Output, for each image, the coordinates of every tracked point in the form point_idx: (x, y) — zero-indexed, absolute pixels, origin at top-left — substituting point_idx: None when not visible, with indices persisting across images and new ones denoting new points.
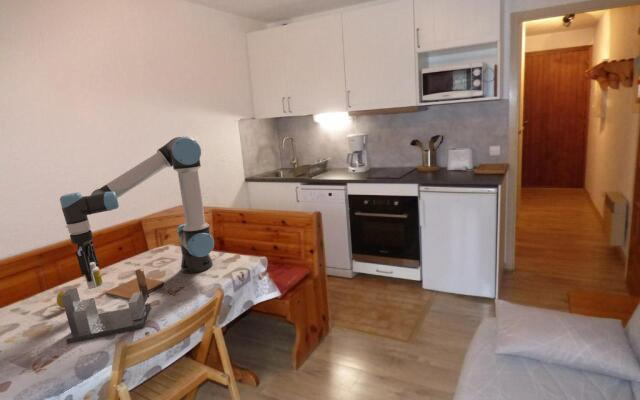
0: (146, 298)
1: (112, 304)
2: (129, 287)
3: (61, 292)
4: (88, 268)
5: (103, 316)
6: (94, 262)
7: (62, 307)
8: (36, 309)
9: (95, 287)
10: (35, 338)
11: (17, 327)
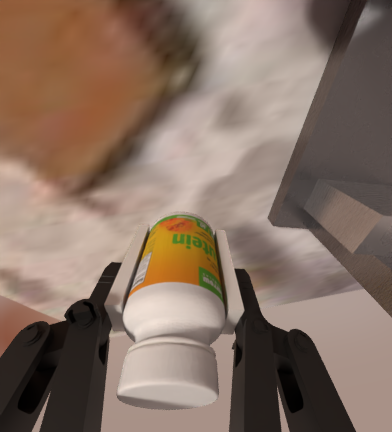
0: None
1: (191, 156)
2: (38, 108)
3: None
4: (304, 382)
5: (327, 164)
6: (152, 386)
7: None
8: None
9: (224, 233)
10: (274, 281)
11: None
